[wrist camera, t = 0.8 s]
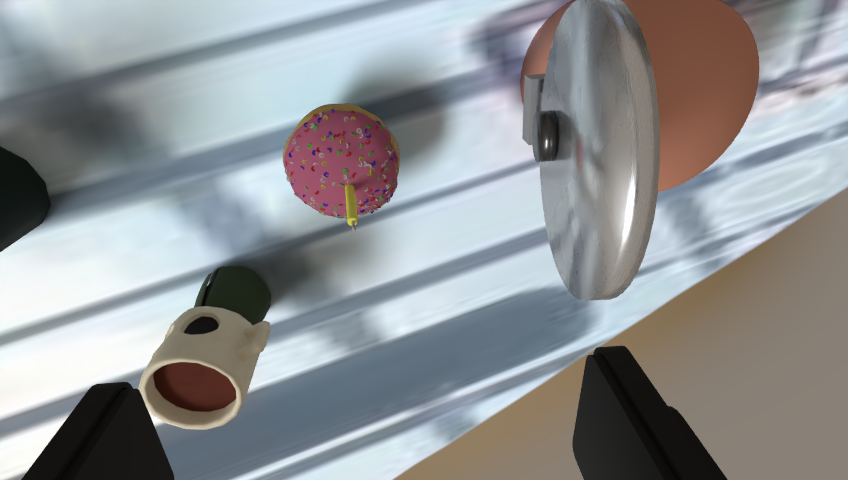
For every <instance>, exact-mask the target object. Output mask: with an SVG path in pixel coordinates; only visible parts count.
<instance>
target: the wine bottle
mask: <svg viewBox="0 0 848 480" xmlns="http://www.w3.org/2000/svg"><path fill="white" fill-rule="evenodd" d="M50 206H51V205H50V201H49V196H48V192H47V188H46V184H45V182H44V181H43V179H42V178H41V177H40V176H39V175H38V174H37V172H36V171H35V170H34V169H33V168H32V167H31V165H30V164H29V163H28V162H27V161H26V160H25V159H23V158H21V157H19V156H17V155H15V154H13V153H11V152H10V151H8V150H6V149H4V148H2V147H0V252H1V251H3V250H4V249H6V248H7V247H8V246H10V245H11V244H13V243H14V242H16V241H17V240H19V239H20V238H21V237H23V236H24V235H26V234H27V233H29V232H30V231H32V230H33V229H34V228H36V227H37V226H39V225H40V224H42V222H43V220H44V218H45V216H46V214H47V212H48V210H49V208H50Z"/></svg>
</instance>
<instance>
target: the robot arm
mask: <svg viewBox="0 0 848 480" xmlns="http://www.w3.org/2000/svg"><path fill="white" fill-rule="evenodd" d="M573 452H574V456H575V459H576V461H577V464H578V466H579V469H580V471H581V473H582V476H583V478H584V480H727V478H726V477H725V475H724V474H723V473H722V471H721V470H720V468H719V467H718V466H717V464H716V463H715V462H714V460H713V459H712V457H711V456H710V454H709V453H708V452H707V450H706V449H705V448H704V446H703V445H702V443H701V442H700V440H699V439H698V438H697V436H696V435H695V433H694V432H693V431H692V429H691V428H690V426H689V425H688V424H687V422H686V421H685V419H684V418H683V417H682V415H681V414H680V413H679V412H678V411H677V410H676V409H674V408H673V407H671V406H667V405H666V403H665V402H664V401H663V399H662V397H661V396H660V394H659V393H658V392H657V390H656V389H655V387H654V386H653V384H652V383H651V382H650V380H649V379H648V377H647V376H646V374H645V373H644V372H643V370H642V369H641V367H640V366H639V364H638V363H637V361H636V360H635V359H634V357H633V356H632V354H631V353H630V351H629V350H628V349H627V348H626V347H625V346H612V347H598V348H596V349H595V351H594V354H593V355H588V356H587V359H586V364H585V370H584V376H583V382H582V388H581V394H580V400H579V406H578V412H577V418H576V423H575V430H574V435H573ZM21 480H174V474H173V471H172V469H171V466H170V464H169V462H168V459H167V457H166V454H165V452H164V449H163V447H162V444H161V442H160V439H159V437H158V434H157V432H156V429H155V427H154V424H153V422H152V419H151V417H150V414H149V412H148V410H147V407H146V405H145V402H144V400H143V397H142V395H141V393H140V391H139V390H138V389H133V388H132V386H131V384H129V383H128V382H118V383H104V384H96V385H94V386H92V387H91V388H90V389H89V390H88V391H87V393H86V394H85V395H84V397H83V398H82V399H81V401H80V402H79V403H78V405H77V406H76V407H75V409H74V410H73V411H72V413H71V414H70V415H69V417H68V418H67V419H66V421H65V422H64V423H63V425H62V426H61V427H60V429H59V430H58V431H57V433H56V434H55V435H54V437H53V438H52V439H51V441H50V442H49V443H48V445H47V446H46V447H45V449H44V450H43V451H42V453H41V454H40V455H39V457H38V458H37V459H36V461H35V462H34V463H33V465H32V466H31V467H30V469H29V470H28V471H27V473H26V474H25V475H24V477H23V478H22V479H21Z"/></svg>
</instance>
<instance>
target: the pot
mask: <svg viewBox="0 0 848 480" xmlns="http://www.w3.org/2000/svg"><path fill="white" fill-rule="evenodd" d="M575 1H576V0H573V1H571V2H569V3H568V4H566V5H564V6H563V7H561V8H560V9H559V10H557V11H556V12H555V13H554V14H553V15H552V16H551V17H550V18H549V19H548V20H547V21H546V22H545V23H544V24H543V25H542V27H541V28H540V29H539V30H538V32H537V33H536V35H535V37H534V38H533V40H532V42H531V44H530V46H529V48H528V50H527V53H526V56H525V59H524V62H523V66H522V71H521V81H520V84H521V96H522V102H523V105H524V111H523V139H524V140H525V141H526V143H527V144H528V145H532V126H533V118H534V115H535V113H536V106H537V89H538V78H539V77H545V72H546V66H547V61H548V57H549V52H550V49H551V45H552V41H553V38H554V35H555V32H556V30H557V27H558V25H559V22H560V20H561V18H562V16H563V15H564V13H565V11H566V10H567V9H568V7H569V6H570V5H571V4H572V3H573V2H575ZM620 1H622V2H623V3H624V4H626V5H627V7H628V8H629V9H630V11H631V12H632V13H633V14H634V16H635V18H636V20H637V22H638V24H639V26H640V28H641V30H642V33H643V36H644V39H645V41H646V44H647V47H648V51H649V55H650V59H651V63H652V67H653V73H654V78H655V84H656V90H657V100H658V109H659V125H660V169H659V182H658V192H660V191H663V190H667V189H670V188H673V187H675V186H678V185H680V184H682V183H684V182H686V181H688V180H690V179H692V178H693V177H695V176H696V175H698V174H699V173H701V172H702V171H704V170H705V169H706V168H708V167H709V166H710V165H711V164H713V163H714V162H715V161H716V160H717V159H718V158H719V157H720V156H721V155H722V154H723V153H724V152H725V150H726V149H727V148H728V147H729V146H730V145H731V143H732V142H733V141H734V139H735V138H736V136H737V135H738V134H739V132H740V130H741V128H742V127H743V125H744V123H745V121H746V119H747V117H748V115H749V113H750V110H751V108H752V105H753V102H754V99H755V96H756V91H757V86H758V79H759V56H758V51H757V46H756V43H755V40H754V37H753V35H752V32H751V30H750V29H749V27H748V25H747V23H746V22H745V21H744V20H743V18H742V17H741V16H740V15H739V14H738V13H737V12H736V11H735V10H734V9H732V8H731V7H730V6H729V5H727V4H725V3H723V2H722V1H720V0H620Z"/></svg>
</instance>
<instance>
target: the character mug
mask: <svg viewBox="0 0 848 480" xmlns="http://www.w3.org/2000/svg"><path fill="white" fill-rule="evenodd" d="M211 274H212V273H210V274H209V275H208V276H207V278H206V279H205V281H204V283H203V284H202V286H201V289H200V291H199V294H198V296H197V299H196V302H195V306H194V308H191V309H189V310H187V311H186V312H184V313H183V314H182V315H181V316H180V317H179V318H178V319H176V320H175V321H174V322H173V323H172V325H171V326H170V328H169V330H168V332H167V334H166V336H165V339H164V342H163V343H162V344H161V346H160V347H159V348H158V349H157V350H156V351H155V353H154V354H153V356H152V359H151V361H150V362H149V364H148V366H147V367H146V369H145V371H144V373H143V375H142V378H141V381H140V384H139V391H140V393H141V395H142V397H143V400H144V402H145V405H146V407H147V409H148V410H149V411H150V413H151V414H152V415H154V416H156V417H157V418H159V419H161V420H162V421H164V422H165V423H167V424H170V425H174V426H177V427H181V428H185V429H205V430H206V429H210V428H214V427H218V426H222V425H224V424H226V423H227V422H228V421H230V420H231V419H233V418H234V417H236V416H237V414H238V412H239V410H240V408H241V406H242V404H243V402H244V400H245V398H246V395H247V392H248V388H249V385H250V382H251V379H252V376H253V373H254V369H255V366H256V363H257V360H258V357H259V354H260V352H262V351H263V350H264V348H265V346H266V343H267V340H268V337H269V333H270V330H271V329H270V324H269V322H267V321H263V319H264V317H265V315H266V313H267V311H268V309H269V307H270V300H271V294H270V292H269V290H268V288H267V286H266V284H265V282H264V281H263V280H262V279H261V278H260V277H259V276H258V275H257V274H256V273H255V272H253V271H250V270H247V269H244V268H241V267H222V268H220V270H219V272H218V274H217V276H216V278H215V279H214V280H213V281H212V282H211V283H210V284H209V285H208V286H207V284H208V281H209V279H210V276H211Z"/></svg>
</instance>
